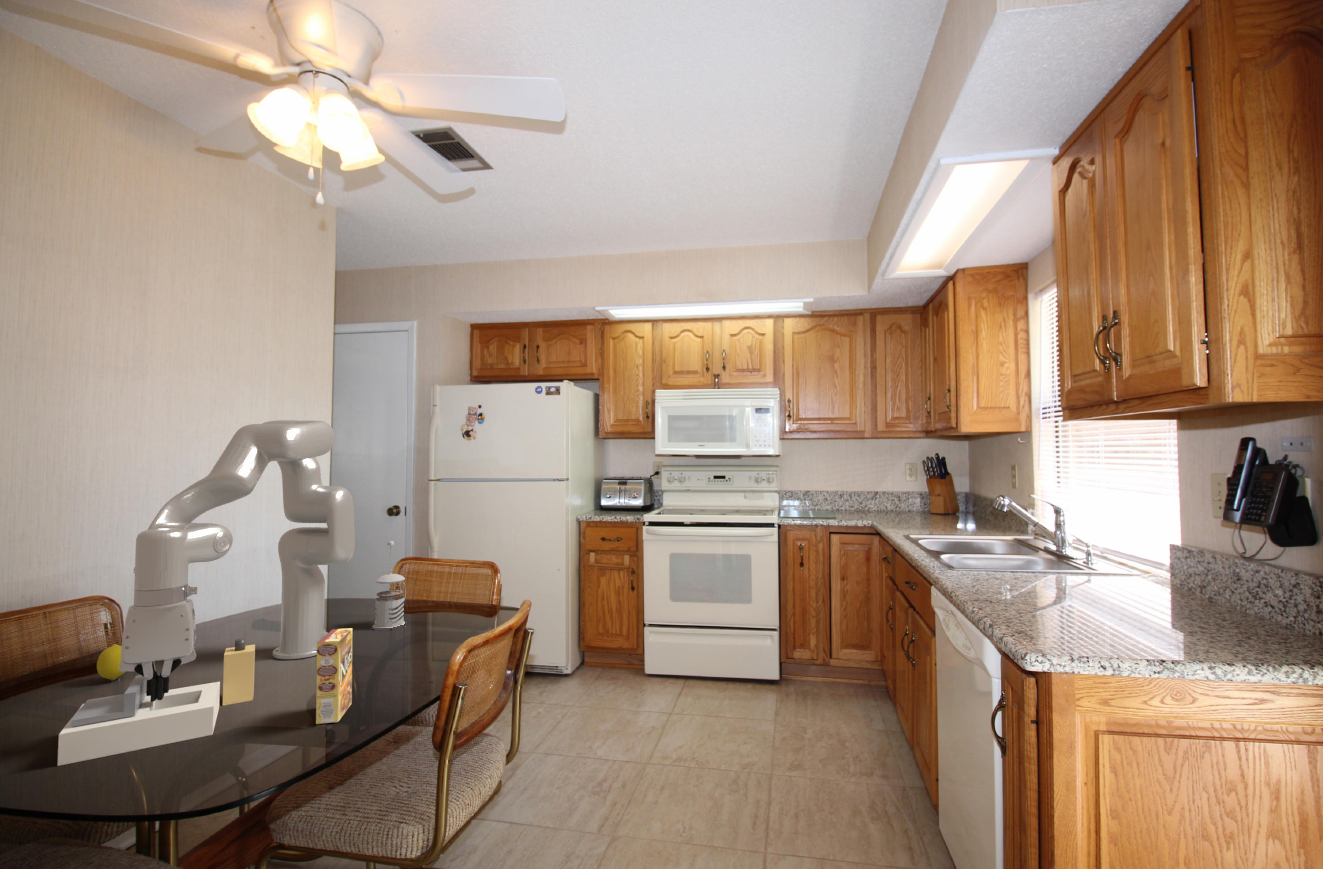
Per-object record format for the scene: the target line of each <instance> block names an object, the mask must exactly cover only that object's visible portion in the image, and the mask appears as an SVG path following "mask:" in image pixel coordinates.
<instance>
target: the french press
mask: <svg viewBox="0 0 1323 869" xmlns="http://www.w3.org/2000/svg"><path fill="white" fill-rule="evenodd" d="M394 545H395V541H394V540H390V541H388V542H387V546H389V548H390V549H389V550H390V552H389V557H390V558H389V573H386V574H383V575H380V576H379V577H377V578H376V579H375V580H374V581H375V583H377V584H388V585H392V584H394V586H395V587H399V589H400V590H398V589H396V590H391V589H389V590H383V591H379V592H377V593H376V596H377V597H376V598H375V601H374V602H375V603H374V604H375V605H374V607H375V609H374V624H373V625H372V626H373V627H374V628H393V627H397V626H400V625H404V624H405V622H406V621H405V620H404V619H405V618H404V617H405V616H404V613H405V611H404V610H405V609H404V606H405V600H406V597H407V596H406V595H407V588H406V584H405V582H404V581H405V580H406V578H405V577H404V576H403V575H401V574H398V573H392V570H391V569H392V567H391V566H392V563H391V562H392V546H394ZM402 583H403V587H404V592H403V590H402V587H401V585H402ZM397 584H398V585H397ZM403 593H404V595H403ZM397 597H398V599H397Z"/></svg>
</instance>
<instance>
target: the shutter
mask: <svg viewBox="0 0 1323 869" xmlns="http://www.w3.org/2000/svg"><path fill="white" fill-rule="evenodd" d="M146 691H147V680H146V679H145V678H144V677H143V676H142V675H140V674H138V675H135V676H134V678H133V680H132V681H131V682H130V684H129V686H128V687H127V689H126V690H125V692H124V693H123V694H115V695H110V696H105V697H104V696H103V697H97V698H91V699H90V698H89V699H87V700H86V701H85V702H84V703H83V704H84V705H83V704H82V705H83V706H82V705H81V706H82V708H81V709H80V710H79V709H78V710H79V712H78V713H77V714H76V715H75V714H74V715H75V717H74V718H73V719H72V720H71V719H70V720H71V727H73V726H79V725H84V724H90V723H96V722H101V721H107V720H113V719H118V718H124V717H129V716H135V715H136V713H137V711H138V709H139V707H140V706H141V704H142V702H143V700H144V698H145V697H146Z"/></svg>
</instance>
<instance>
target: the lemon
mask: <svg viewBox="0 0 1323 869" xmlns="http://www.w3.org/2000/svg"><path fill="white" fill-rule="evenodd" d="M121 648H122V645H120V644H117V643H113V644H112V645H111V646H108V647H107V648H105V649H103V651H102V652H101V653H100V655H99V656H98V659H97V662H96V670H97V673H98V674H99V676H100V677H102V678H104V679H109V680H110V681H111V682H112V681H116V679H118V678H119V677H121V676H122V675H124V674H125V673H126V672H127V671H120V670H119V667H120V664H121Z"/></svg>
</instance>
